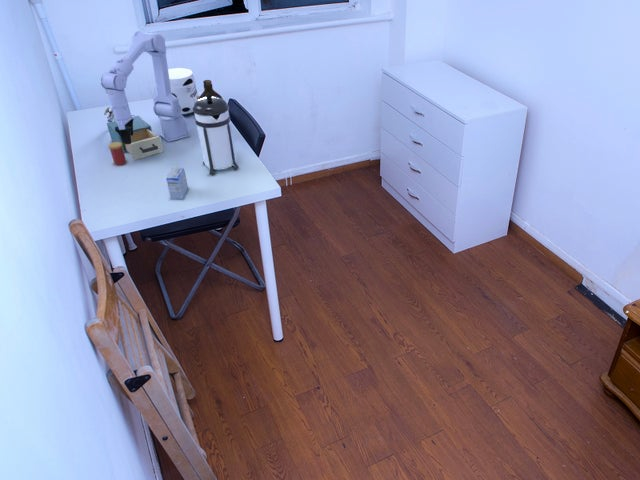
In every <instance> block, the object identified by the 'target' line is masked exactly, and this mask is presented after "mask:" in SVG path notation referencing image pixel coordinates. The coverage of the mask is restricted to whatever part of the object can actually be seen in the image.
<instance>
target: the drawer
mask: <svg viewBox="0 0 640 480" xmlns="http://www.w3.org/2000/svg"><path fill="white" fill-rule="evenodd" d="M161 140H162V139H161V136H160V135H156V134H155V133H154V132H153V131H152V132H151V131H150V130H149V129H148V128H147V129H143V130H139V131H135V132H133V135H132V136H131V144H125V143H124V142H123V140H122V142H123V145H124V148H125V149H126V150H127V151H128V152H127V153H129V154H130V156H132V159H133V160H134V161H135V160H139V159H143V158H147V157H149V156H154V155H157V154H160V153H163V152H164V148H163V145H162V141H161Z"/></svg>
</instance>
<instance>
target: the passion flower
mask: <svg viewBox="0 0 640 480" xmlns="http://www.w3.org/2000/svg"><path fill="white" fill-rule="evenodd" d="M107 114H108V115H107ZM103 115H104V116H106V115H107V117H106V118H107V123H109V122H113V121H115V119H114V114H113V110H112V107H111V108H110V106H108V107H107V108H106V109H105V111H104V113H103Z"/></svg>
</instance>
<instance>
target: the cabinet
mask: <svg viewBox="0 0 640 480" xmlns="http://www.w3.org/2000/svg"><path fill="white" fill-rule="evenodd" d="M106 125H107V129H108V133H109V136H110V139H111V143H113V142H121V143H122V148H123V151H124V154H126V153H129V152H128V151H127V150H126V149H125V148H124V145H123V142H122V138H121V136H120V135H119V134H118V133H117V132H116V131H115V127H118V124H117V123H116V121H113V122H106ZM147 128H148V129H149V130H150V131H151V132H152V133H153V129H152V126H151V125H150V124H149V123H148V122H147V121H145V120H144V119H143V118H142V117H141V116H140V115H135V119H133V132H135V131H139V130H143V129H147Z"/></svg>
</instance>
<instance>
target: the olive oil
mask: <svg viewBox="0 0 640 480" xmlns="http://www.w3.org/2000/svg"><path fill="white" fill-rule="evenodd" d="M202 83H203V89H204V90H203V92H202V93H201V94H199V99H202V98H206V97H205V96H206V94H207V93H210V94H211V95H212V97H218V98H221V99H223V100H224V98H223V96H222V95H220V93H218V92H217V91H215V89H214V88H213V83H212V80H210V79H205V80H203V81H202ZM199 99H198V100H199Z"/></svg>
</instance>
